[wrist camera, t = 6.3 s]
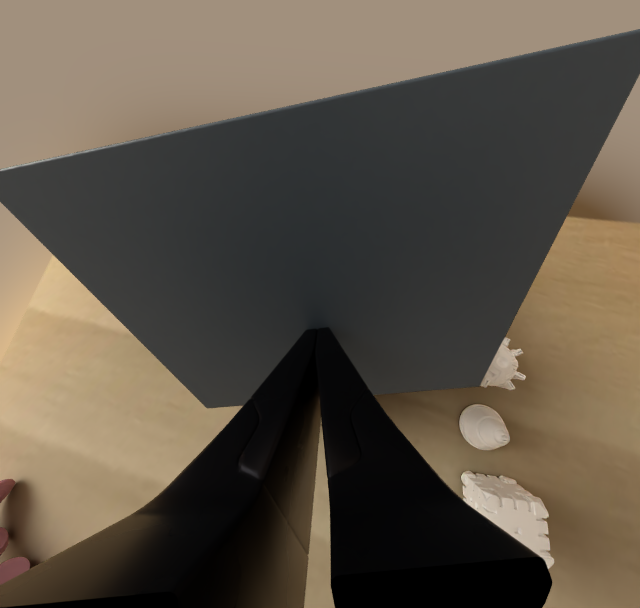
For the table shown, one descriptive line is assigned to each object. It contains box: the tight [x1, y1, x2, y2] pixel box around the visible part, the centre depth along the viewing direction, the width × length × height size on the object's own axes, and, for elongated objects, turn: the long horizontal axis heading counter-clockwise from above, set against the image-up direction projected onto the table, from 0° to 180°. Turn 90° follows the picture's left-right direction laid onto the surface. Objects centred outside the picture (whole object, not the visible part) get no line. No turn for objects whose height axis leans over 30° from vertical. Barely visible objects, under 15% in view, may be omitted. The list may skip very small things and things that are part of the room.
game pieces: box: [459, 337, 554, 569], centre depth 15 cm, size 12×3×3 cm, turn 175°
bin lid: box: [0, 29, 640, 408], centre depth 8 cm, size 11×13×1 cm
